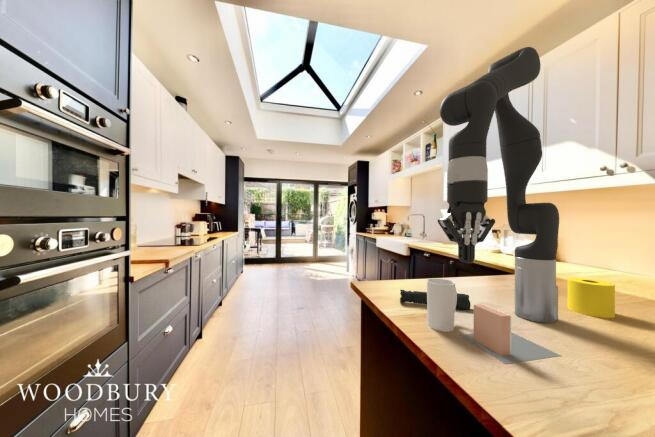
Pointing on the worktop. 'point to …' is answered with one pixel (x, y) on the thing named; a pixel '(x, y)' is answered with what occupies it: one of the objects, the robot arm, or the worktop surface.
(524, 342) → the mat
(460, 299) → the flashlight
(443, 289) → the mug
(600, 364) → the worktop surface
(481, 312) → the tile
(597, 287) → the tape roll
